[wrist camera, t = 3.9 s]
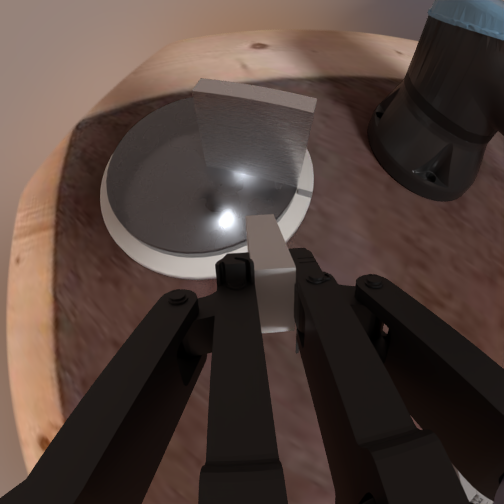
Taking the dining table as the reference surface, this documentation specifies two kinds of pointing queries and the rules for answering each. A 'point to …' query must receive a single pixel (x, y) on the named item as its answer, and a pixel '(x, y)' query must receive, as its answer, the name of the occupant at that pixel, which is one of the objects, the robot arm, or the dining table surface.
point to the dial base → (204, 265)
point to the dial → (209, 167)
